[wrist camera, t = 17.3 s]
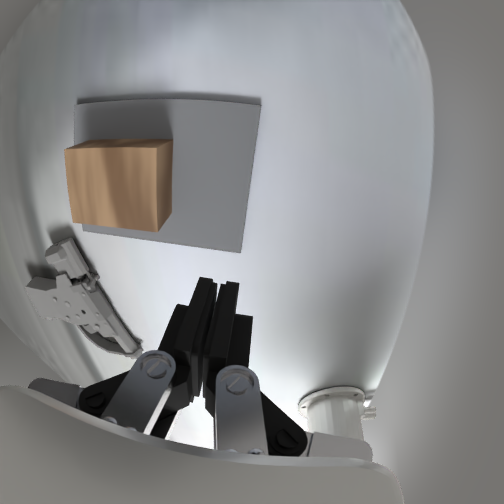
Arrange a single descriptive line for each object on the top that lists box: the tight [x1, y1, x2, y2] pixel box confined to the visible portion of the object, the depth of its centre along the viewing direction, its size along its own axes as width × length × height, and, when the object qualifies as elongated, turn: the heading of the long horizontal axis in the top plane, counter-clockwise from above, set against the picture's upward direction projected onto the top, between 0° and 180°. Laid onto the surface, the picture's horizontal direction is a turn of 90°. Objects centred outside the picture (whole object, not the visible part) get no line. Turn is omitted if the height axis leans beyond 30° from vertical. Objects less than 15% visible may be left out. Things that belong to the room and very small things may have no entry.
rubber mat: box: [74, 99, 261, 253], centre depth 23 cm, size 18×14×1 cm
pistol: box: [25, 238, 143, 359], centre depth 33 cm, size 20×3×16 cm
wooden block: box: [64, 139, 173, 233], centre depth 21 cm, size 4×7×9 cm
